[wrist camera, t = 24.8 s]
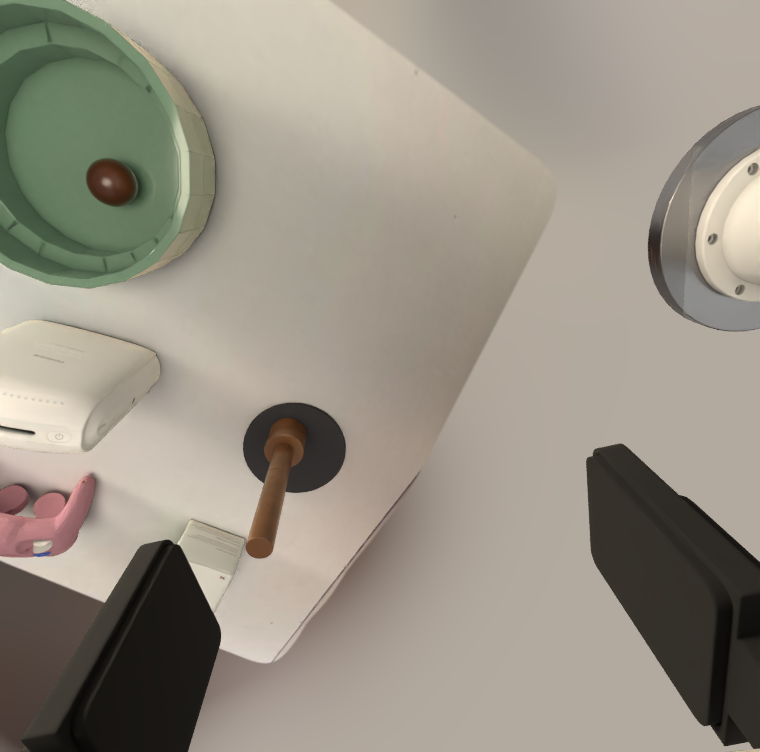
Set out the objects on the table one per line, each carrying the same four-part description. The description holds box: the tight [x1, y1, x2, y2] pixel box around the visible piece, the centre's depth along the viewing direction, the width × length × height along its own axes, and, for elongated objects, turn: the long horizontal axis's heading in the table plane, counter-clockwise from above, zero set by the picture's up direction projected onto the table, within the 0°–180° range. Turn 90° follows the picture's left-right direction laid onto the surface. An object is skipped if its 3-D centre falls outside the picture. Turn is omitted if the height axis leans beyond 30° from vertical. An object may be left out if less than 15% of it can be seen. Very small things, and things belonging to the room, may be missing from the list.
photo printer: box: [0, 320, 160, 453], centre depth 31 cm, size 10×4×12 cm, turn 71°
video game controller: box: [0, 475, 95, 557], centre depth 38 cm, size 10×5×7 cm, turn 74°
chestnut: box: [86, 158, 138, 207], centre depth 30 cm, size 3×3×3 cm
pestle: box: [246, 418, 307, 559], centre depth 33 cm, size 3×3×14 cm
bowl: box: [0, 0, 215, 288], centre depth 29 cm, size 15×15×6 cm
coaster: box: [243, 403, 345, 493], centre depth 41 cm, size 9×9×1 cm
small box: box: [178, 520, 245, 614], centre depth 42 cm, size 6×6×5 cm
